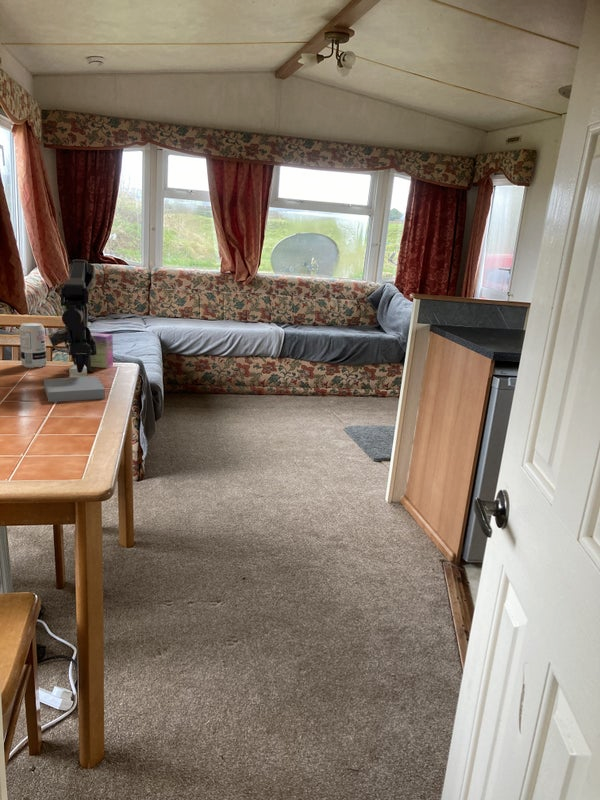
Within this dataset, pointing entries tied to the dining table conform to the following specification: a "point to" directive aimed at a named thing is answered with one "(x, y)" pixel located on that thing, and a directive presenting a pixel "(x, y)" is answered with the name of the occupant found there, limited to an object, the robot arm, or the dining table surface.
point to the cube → (74, 372)
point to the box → (102, 350)
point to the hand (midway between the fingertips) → (77, 369)
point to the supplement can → (32, 345)
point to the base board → (73, 389)
